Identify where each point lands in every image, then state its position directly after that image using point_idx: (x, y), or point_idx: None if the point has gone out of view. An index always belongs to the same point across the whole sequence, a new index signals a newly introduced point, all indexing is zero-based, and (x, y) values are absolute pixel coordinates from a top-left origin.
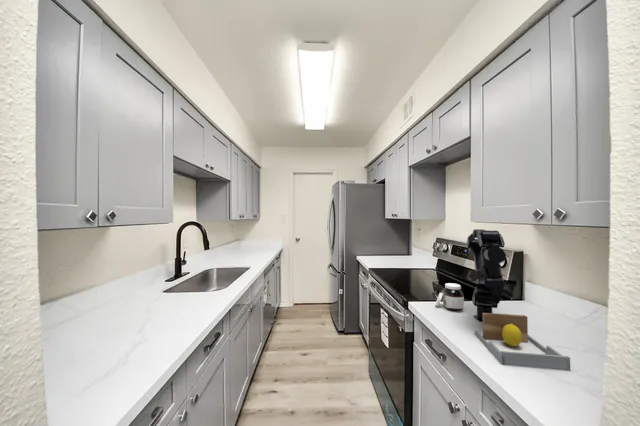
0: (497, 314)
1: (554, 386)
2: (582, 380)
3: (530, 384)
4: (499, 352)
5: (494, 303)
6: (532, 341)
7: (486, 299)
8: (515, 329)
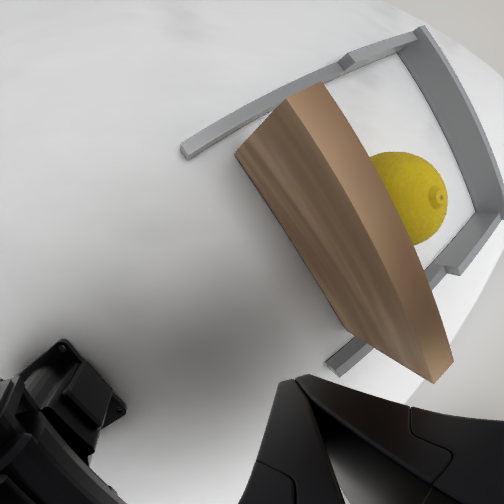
0: (422, 303)
1: (479, 105)
2: None
3: (500, 152)
4: (496, 224)
5: (43, 415)
6: (255, 116)
7: (93, 489)
8: (440, 176)
